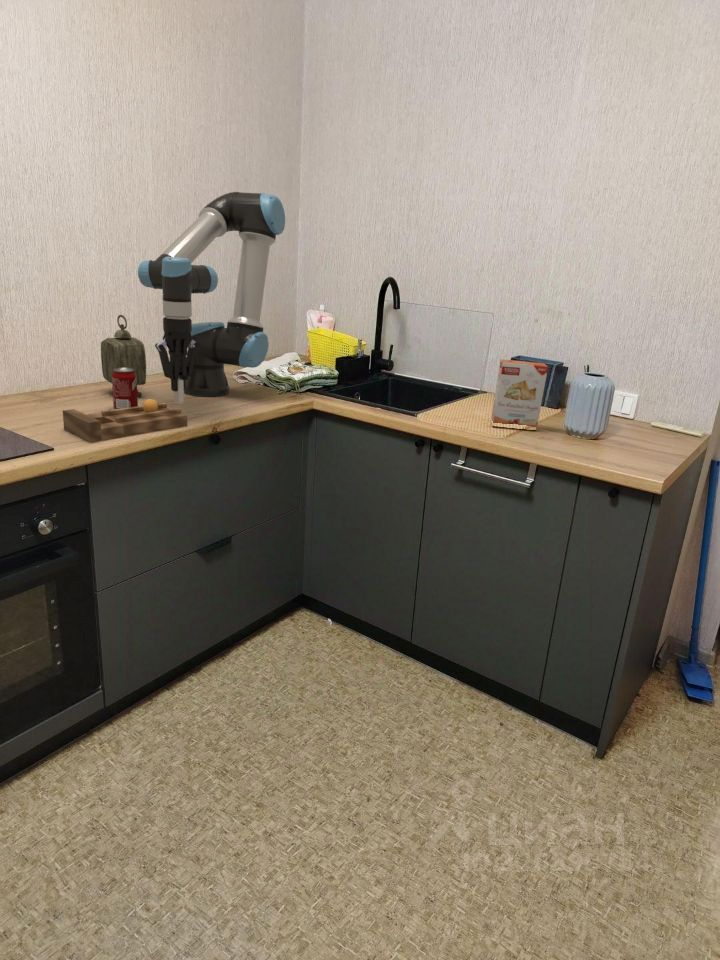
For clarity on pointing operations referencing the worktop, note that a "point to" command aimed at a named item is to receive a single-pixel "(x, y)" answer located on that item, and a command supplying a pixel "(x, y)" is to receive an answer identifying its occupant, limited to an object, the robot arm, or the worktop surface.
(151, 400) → the ball
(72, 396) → the worktop surface
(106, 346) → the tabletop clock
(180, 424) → the board
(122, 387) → the soda can
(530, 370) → the cracker box
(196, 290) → the robot arm
